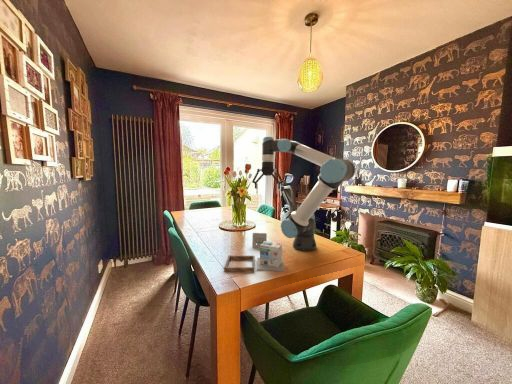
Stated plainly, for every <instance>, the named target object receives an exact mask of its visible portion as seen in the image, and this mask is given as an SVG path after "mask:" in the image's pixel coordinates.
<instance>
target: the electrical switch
mask: <svg viewBox="0 0 512 384" xmlns="http://www.w3.org/2000/svg"><path fill="white" fill-rule="evenodd" d="M267 237H268V234H267V233H266V232H253V233H252V248H257V249H258V248H259V249H260V245H261V244H262V243H263V242H264V241H267ZM267 242H268V241H267Z"/></svg>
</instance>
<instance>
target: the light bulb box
mask: <svg viewBox="0 0 512 384" xmlns="http://www.w3.org/2000/svg"><path fill="white" fill-rule="evenodd" d="M282 252H283V244H282V243H279V242H273V241H264V242H263V243H262V244H261V245H260V248H259V258H260V264H264V265H269V266H274V267H279V265H280V264H281V262H282V261H283V258H282V257H283V256H282V255H283V253H282Z"/></svg>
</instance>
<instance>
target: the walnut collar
mask: <svg viewBox="0 0 512 384" xmlns="http://www.w3.org/2000/svg"><path fill="white" fill-rule="evenodd" d="M255 258H256V256H255V255H242V254H241V255H237V254H236V255H235V254H234V255H232V254H231V255H230V254H229V255H228V256H227V259H226V262H225V264H224V269H223V270H224V271H223V272H225V273H227V272H230V273H231V272H232V273H233V272H235V273H236V272H237V273H239V272H240V273H254V272H255V262H256V261H255V260H256V259H255ZM231 260H242V261H243V260H244V261H245V260H248V261H252V263H251V266H250V267H249V266H229V263H230V261H231Z"/></svg>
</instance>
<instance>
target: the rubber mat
mask: <svg viewBox="0 0 512 384" xmlns="http://www.w3.org/2000/svg"><path fill="white" fill-rule="evenodd" d="M256 260H257V261H256V271H257V272H258V271H259V272H261V271H265V272H266V271H267V272H285V267H284V262H283V260H282V262H281V264H280V265H279V267H274V266H269V265H264V264H260V257H257V259H256Z"/></svg>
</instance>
